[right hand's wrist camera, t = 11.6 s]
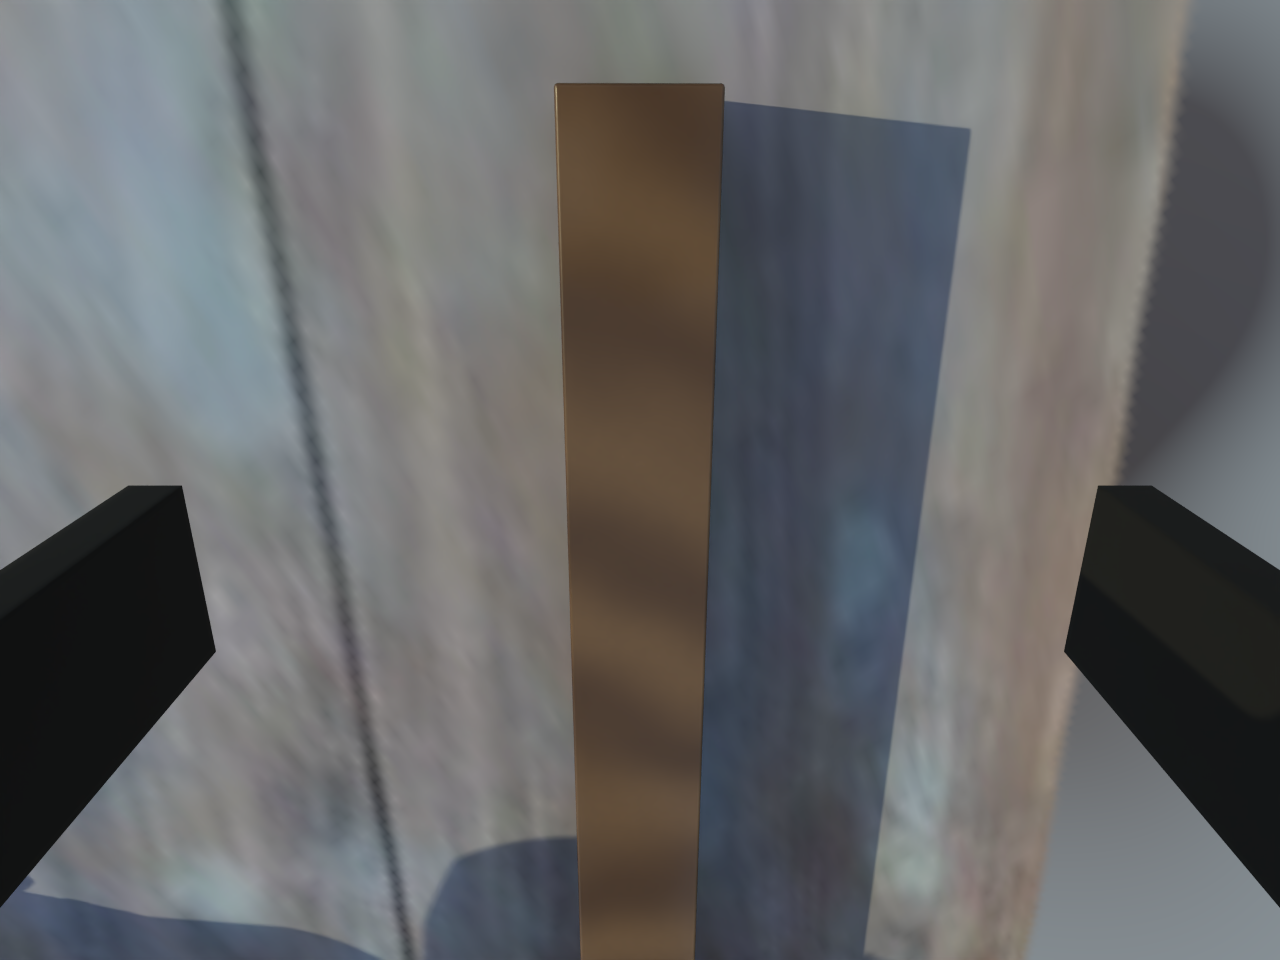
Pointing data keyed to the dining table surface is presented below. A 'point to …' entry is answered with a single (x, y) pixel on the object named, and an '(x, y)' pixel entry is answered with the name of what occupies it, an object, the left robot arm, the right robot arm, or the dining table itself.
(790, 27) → the dining table surface
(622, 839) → the beam
